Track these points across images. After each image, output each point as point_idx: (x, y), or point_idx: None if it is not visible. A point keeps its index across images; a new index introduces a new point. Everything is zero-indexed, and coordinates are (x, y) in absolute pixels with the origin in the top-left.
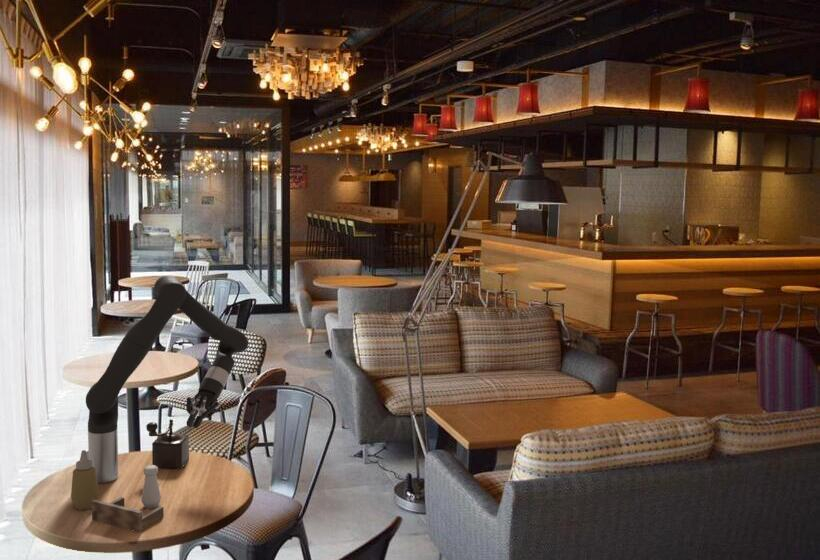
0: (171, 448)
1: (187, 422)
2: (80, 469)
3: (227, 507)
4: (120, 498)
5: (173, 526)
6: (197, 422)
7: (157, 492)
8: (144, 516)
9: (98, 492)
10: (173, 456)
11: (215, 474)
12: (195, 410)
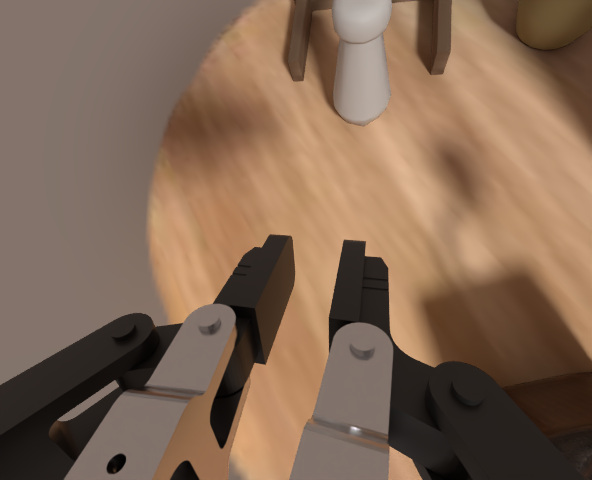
0: (568, 420)
1: (360, 246)
2: None
3: (171, 186)
4: (443, 42)
5: (244, 57)
6: (247, 263)
7: (335, 79)
8: (301, 5)
9: (533, 9)
10: (530, 408)
11: (311, 392)
12: (318, 401)
